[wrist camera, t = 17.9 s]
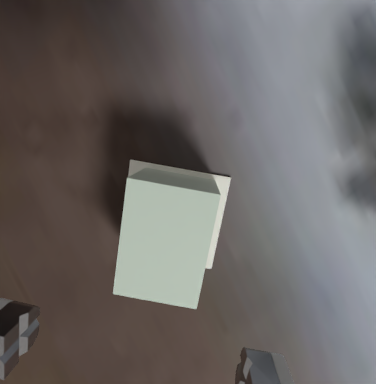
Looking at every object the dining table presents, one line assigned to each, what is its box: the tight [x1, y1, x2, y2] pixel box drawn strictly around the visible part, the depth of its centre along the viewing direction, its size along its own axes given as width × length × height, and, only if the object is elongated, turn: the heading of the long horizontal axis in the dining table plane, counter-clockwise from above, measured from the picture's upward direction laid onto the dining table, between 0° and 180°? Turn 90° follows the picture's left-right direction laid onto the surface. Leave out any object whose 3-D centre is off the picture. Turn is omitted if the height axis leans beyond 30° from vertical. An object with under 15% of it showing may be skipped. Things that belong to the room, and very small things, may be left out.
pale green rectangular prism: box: [113, 167, 221, 309], centre depth 22 cm, size 7×10×7 cm
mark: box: [128, 160, 231, 269], centre depth 25 cm, size 10×10×1 cm
